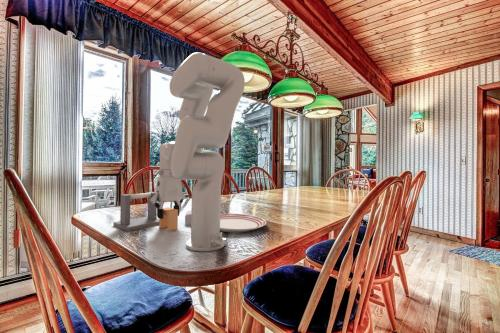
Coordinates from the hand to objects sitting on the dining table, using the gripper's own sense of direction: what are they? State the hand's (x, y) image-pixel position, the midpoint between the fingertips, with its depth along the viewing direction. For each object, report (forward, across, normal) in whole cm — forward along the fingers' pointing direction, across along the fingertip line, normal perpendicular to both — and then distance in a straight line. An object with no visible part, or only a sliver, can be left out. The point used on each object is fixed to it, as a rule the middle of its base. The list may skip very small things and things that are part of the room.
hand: (168, 216), depth 103 cm
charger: (+5, +17, +2) cm, 18 cm away
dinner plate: (+5, +21, -18) cm, 28 cm away
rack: (+5, -5, +14) cm, 16 cm away
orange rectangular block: (+5, 0, 0) cm, 5 cm away
